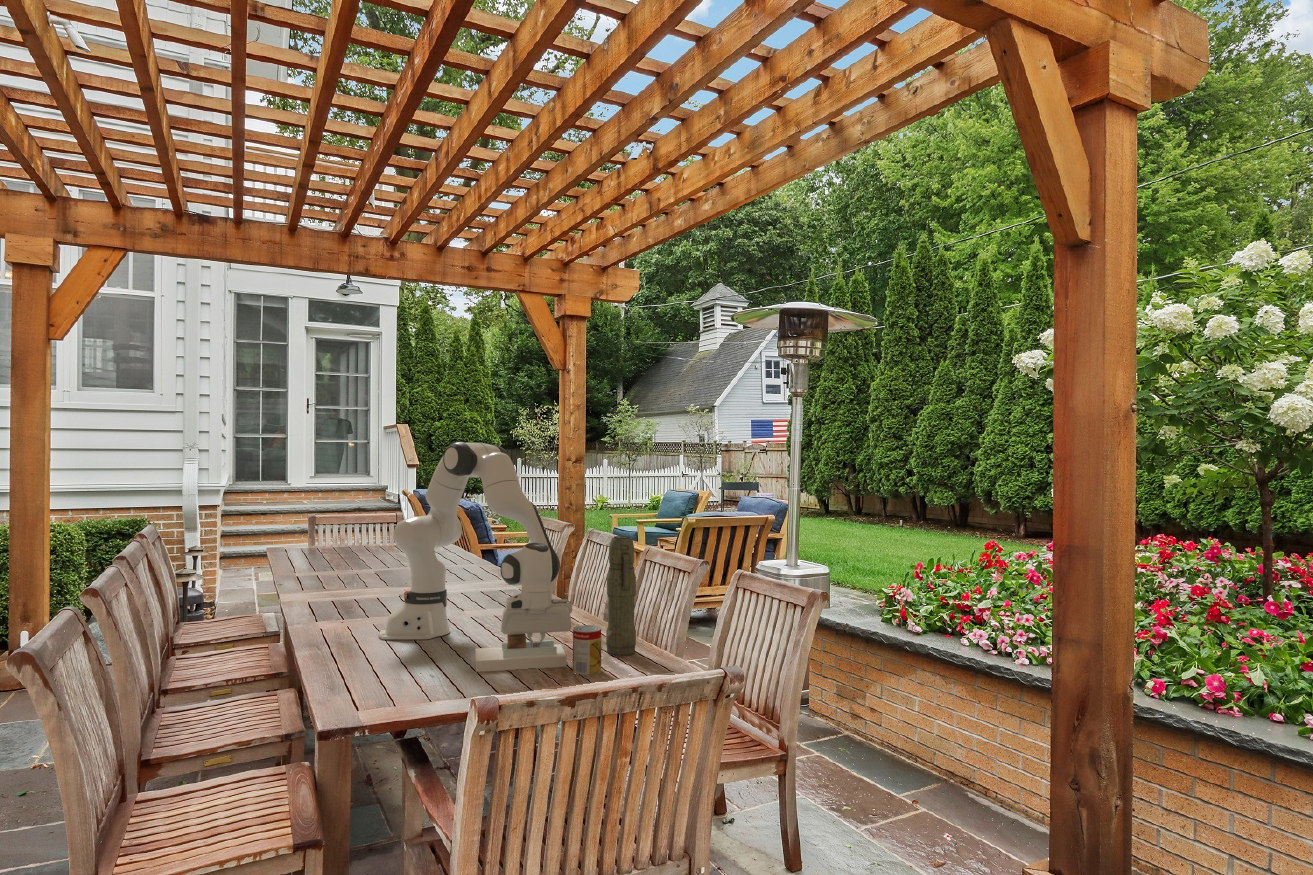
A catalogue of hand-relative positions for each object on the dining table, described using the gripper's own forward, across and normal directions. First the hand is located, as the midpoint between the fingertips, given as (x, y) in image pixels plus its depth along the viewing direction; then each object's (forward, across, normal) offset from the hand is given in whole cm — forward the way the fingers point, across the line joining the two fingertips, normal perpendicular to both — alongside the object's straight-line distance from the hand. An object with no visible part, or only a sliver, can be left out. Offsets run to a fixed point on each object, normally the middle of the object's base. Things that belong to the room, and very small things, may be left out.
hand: (536, 647), depth 235 cm
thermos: (+4, -26, -5) cm, 27 cm away
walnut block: (+1, +6, 0) cm, 6 cm away
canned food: (+4, -13, +13) cm, 19 cm away
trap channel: (+4, +4, 0) cm, 6 cm away
